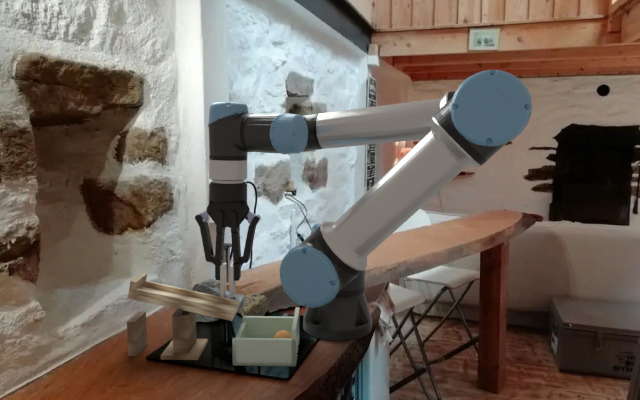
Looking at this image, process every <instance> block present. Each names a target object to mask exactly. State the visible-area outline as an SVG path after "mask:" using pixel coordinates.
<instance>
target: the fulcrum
mask: <svg viewBox="0 0 640 400" xmlns="http://www.w3.org/2000/svg"><path fill="white" fill-rule="evenodd" d="M175 312H176V310H175V311H174V313H173V314H172V315H171V323H172V328H171V329H172V340H171V341H170V342H169V344H168V345H167V347H165V349H164V350H163V352H162V353H161V354H160V360H167V361H170V360H171V361H173V360H174V361H175V360H176V361H177V360H178V361H182V360H183V361H199V359H200V357H201V355H203V352H204V350H205V349H206V347H207V345H208V343H209V339H208V338H197V322H196V313H193V312H188V311H184V312H183V313H182V314H181V316H179V317H177V316H176V315H175ZM147 328H148V327H147V311H137V312H135V313H134V315H133V316H131V317H130V319H128V320H127V321H126V332H127V334H126V335H127V336H126V337H127V353H128V354H127V356H128V357H138V355H139V354H140V353H141V352H142V351H143V350H144V349H145V347H147V345H148V333H147V331H148V330H147Z"/></svg>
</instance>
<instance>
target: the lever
mask: <svg viewBox="0 0 640 400" xmlns="http://www.w3.org/2000/svg"><path fill="white" fill-rule="evenodd" d="M147 276H148V273H146V272H141V273H140V274H138V275H137V276H135V277H134V278H133V279H131V280H130V282H129V287H128V288H129V289H128V294H127V299H129V300H133V301H138V302H143V303H147V304H153V305H156V306H162V307H165V308H169V309H170V308H171V309H175V311H176V312H175V311H174V313H175V315H176V316H177V317H179V316H181V314H182V313H183V312H184V311H188V312H193V313H197V314H202V315H207V316H211V317H216V318H219V319H221V320H226V321H230V322H233V321H234V319H235V316H236V314H238V313H237V311H238V309H239V307H240V305H241V303H242V301H243V299H244V296H245V294H241V293H237V292H236V294H235V296H234V297H233V298H230V291H228V290H227V291H226V295H225V296H224V297H219V296H215V295H210V294H206V293H201V292H196V291H192V289H187V288H183V287H177V286H173V285H168V284H163V283H158V282H156V281H155V282H154V281H150V280H147V278H148V277H147Z"/></svg>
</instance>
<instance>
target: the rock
mask: <svg viewBox="0 0 640 400" xmlns="http://www.w3.org/2000/svg"><path fill="white" fill-rule="evenodd" d="M260 294H261V293H258V292H252V293H248V294H247V295H244V299H243V301H242V303H241V305H240V307H239V309H238V311H237V313H236V314H240V315H241V317H243V316H265V315H266V313H267V311H269V303H268V298H267V296H266V295H265V294H263V295H260Z"/></svg>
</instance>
